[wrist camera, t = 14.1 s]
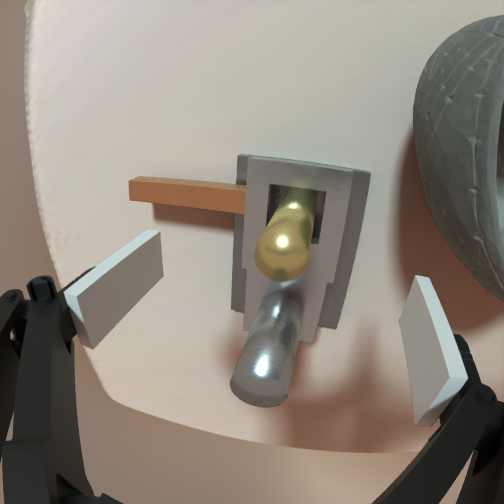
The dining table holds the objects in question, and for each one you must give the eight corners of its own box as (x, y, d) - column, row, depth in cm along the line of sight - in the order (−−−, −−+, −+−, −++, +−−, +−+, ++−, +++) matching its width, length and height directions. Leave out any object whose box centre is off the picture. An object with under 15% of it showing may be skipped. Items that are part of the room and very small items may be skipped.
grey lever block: (149, 144, 30) (38, 177, 16) (370, 166, 25) (411, 218, 12) (157, 287, 37) (86, 367, 24) (336, 323, 33) (329, 436, 20)
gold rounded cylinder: (285, 182, 27) (255, 228, 16) (318, 187, 26) (311, 237, 16) (282, 213, 28) (252, 276, 18) (314, 218, 28) (303, 285, 17)
